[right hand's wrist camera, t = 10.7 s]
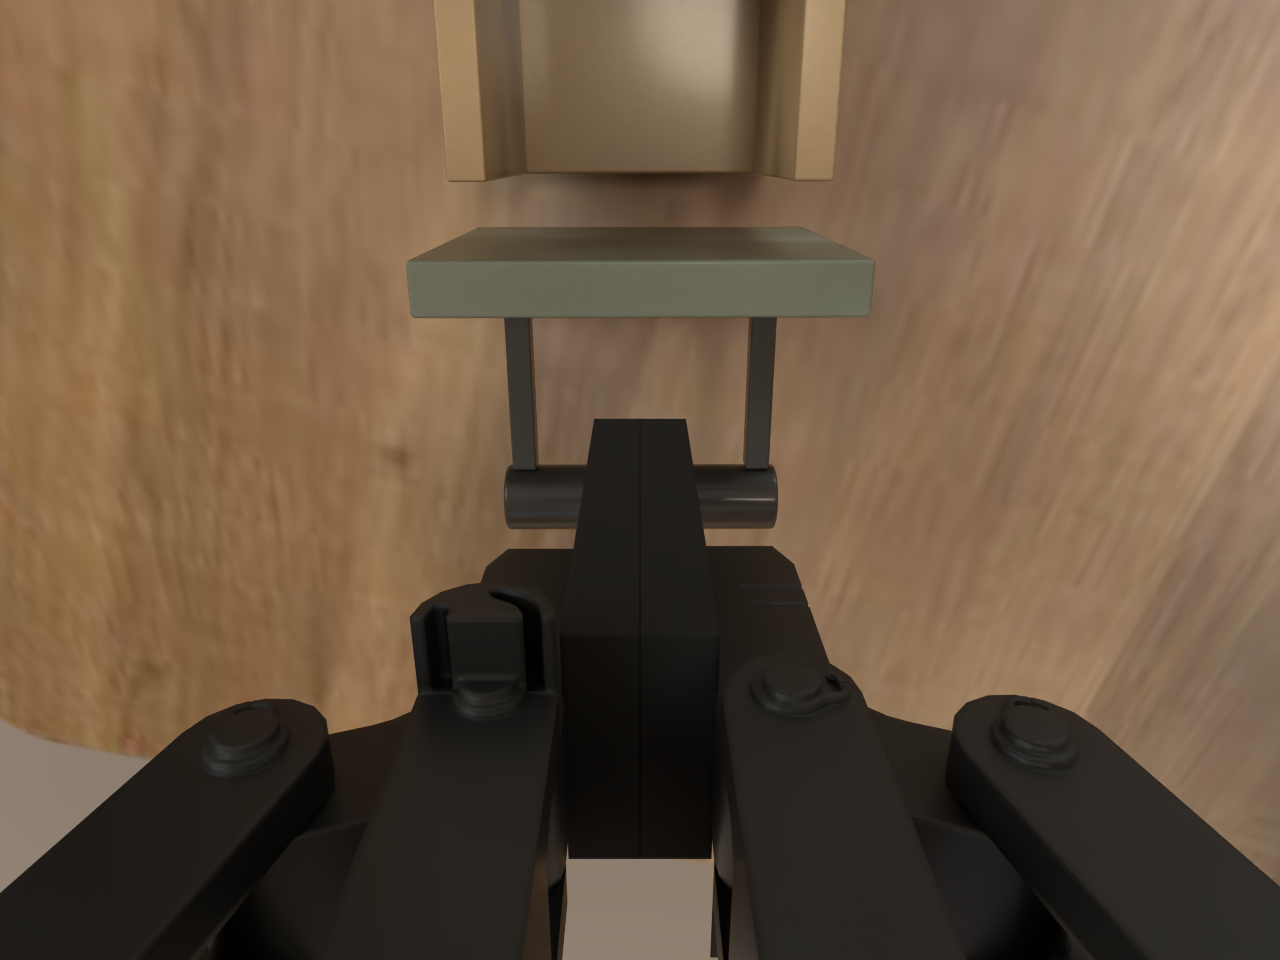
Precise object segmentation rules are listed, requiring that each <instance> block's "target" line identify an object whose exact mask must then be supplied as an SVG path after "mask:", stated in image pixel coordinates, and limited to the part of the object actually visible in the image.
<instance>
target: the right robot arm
mask: <svg viewBox="0 0 1280 960" xmlns="http://www.w3.org/2000/svg"><path fill="white" fill-rule="evenodd" d="M801 586H802V585H801V582H800V580H799V577H798V574H797V571H796V568H795V566H794V564H793V563H792V562H791V561H790V560H788V559H787V558H786V557H785V556H783V555H782V554H781V553H780V552H779V551H777V550H776V549H775V548H774V547H772V546H706V543H705V536H704V530H703V524H702V518H701V511H700V505H699V499H698V493H697V486H696V480H695V474H694V468H693V461H692V455H691V449H690V443H689V436H688V430H687V424H686V419H594V424H593V430H592V436H591V443H590V449H589V455H588V461H587V468H586V474H585V480H584V486H583V493H582V499H581V505H580V511H579V518H578V524H577V530H576V536H575V543H574V549H507V550H506V551H505V552H504V553H503V554H501V555H500V556H499V557H498V558H497V559H495V560H494V561H493V562H492V563H491V564H489V565H488V566H487V567H486V569H485V572H484V575H483V577H482V580H481V583H477V584H467V585H463V586H460V587H457V588H453V589H450V590H446V591H443V592H441V593H439V594H437V595H435V596H433V597H432V598H430V599H428V600H426V601H425V602H423V603H421V604H420V606H419V607H418V608H417V609H416V610H415V612H414V613H413V614H412V615H411V616H410V625H411V633H412V642H413V651H414V659H415V668H416V677H417V686H418V695H417V698H416V701H415V703H414V706H413V708H412V711H411V712H409V713H407V714H404V715H402V716H400V717H398V718H395V719H393V720H390V721H386V722H382V723H379V724H375V725H372V726H367V727H362V728H358V729H353V730H348V731H343V732H339V733H334V734H328V728H327V722H326V719H325V718H324V717H323V716H322V714H321V713H320V712H319V711H318V710H317V709H316V708H315V707H314V706H311V705H308V704H305V703H302V702H299V701H296V700H293V699H262V700H256V701H252V702H245V703H241V704H237V705H234V706H231V707H229V708H227V709H224V710H222V711H219V712H217V713H214V714H212V715H209V716H207V717H205V718H204V719H202V720H201V721H199V722H198V723H196V724H195V725H194V726H192V727H191V728H189V729H188V730H186V731H185V732H183V733H182V734H181V735H180V736H178V737H177V738H176V739H175V740H174V741H173V742H172V743H170V744H169V745H168V746H167V747H166V748H165V749H164V750H162V751H161V752H160V753H159V754H158V755H157V756H156V757H155V758H153V759H152V760H151V761H150V762H149V763H148V764H147V765H145V766H144V767H143V768H142V769H141V770H140V771H139V772H137V773H136V774H135V775H134V776H133V777H132V778H131V779H129V780H128V781H127V782H126V783H125V784H124V785H123V786H122V787H120V788H119V789H118V790H117V791H116V792H115V793H114V794H112V795H111V796H110V797H109V798H108V799H107V800H106V801H104V802H103V803H102V804H101V805H100V806H99V807H98V808H96V809H95V810H94V811H93V812H92V813H91V814H90V815H89V816H87V817H86V818H85V819H84V820H83V821H82V822H80V823H79V824H78V825H77V826H76V827H75V828H74V829H73V830H71V831H70V832H69V833H68V834H67V835H66V836H65V837H63V838H62V839H61V840H60V841H59V842H58V843H57V844H55V845H54V846H53V847H52V848H51V849H50V850H49V851H47V852H46V853H45V854H44V855H43V856H42V857H41V858H40V859H38V860H37V861H36V862H35V863H34V864H33V865H32V866H30V867H29V868H28V869H27V870H26V871H25V872H24V873H22V874H21V875H20V876H19V877H18V878H17V879H16V880H15V881H13V882H12V883H11V884H10V885H9V886H8V887H7V888H5V889H4V890H3V891H2V892H1V893H0V960H562V955H563V944H564V933H565V922H566V911H567V882H566V856H567V846H568V854H569V859H711V854H712V841H713V851H714V883H713V906H712V930H711V954H710V957H718V960H1280V886H1278V885H1277V884H1276V883H1275V882H1274V881H1273V880H1271V879H1270V878H1269V877H1268V876H1267V875H1266V874H1265V873H1263V872H1262V871H1261V870H1260V869H1259V868H1258V867H1257V866H1255V865H1254V864H1253V863H1252V862H1251V861H1250V860H1249V859H1247V858H1246V857H1245V856H1244V855H1243V854H1242V853H1240V852H1239V851H1238V850H1237V849H1236V848H1235V847H1234V846H1232V845H1231V844H1230V843H1229V842H1228V841H1227V840H1226V839H1224V838H1223V837H1222V836H1221V835H1220V834H1219V833H1218V832H1216V831H1215V830H1214V829H1213V828H1212V827H1211V826H1209V825H1208V824H1207V823H1206V822H1205V821H1204V820H1203V819H1201V818H1200V817H1199V816H1198V815H1197V814H1196V813H1195V812H1193V811H1192V810H1191V809H1190V808H1189V807H1188V806H1187V805H1185V804H1184V803H1183V802H1182V801H1181V800H1180V799H1178V798H1177V797H1176V796H1175V795H1174V794H1173V793H1172V792H1170V791H1169V790H1168V789H1167V788H1166V787H1165V786H1164V785H1162V784H1161V783H1160V782H1159V781H1158V780H1157V779H1156V778H1154V777H1153V776H1152V775H1151V774H1150V773H1149V772H1147V771H1146V770H1145V769H1144V768H1143V767H1142V766H1141V765H1139V764H1138V763H1137V762H1136V761H1135V760H1134V759H1133V758H1131V757H1130V756H1129V755H1128V754H1127V753H1126V752H1125V751H1123V750H1122V749H1121V748H1120V747H1119V746H1118V745H1116V744H1115V743H1114V742H1113V741H1112V740H1111V739H1110V738H1108V737H1107V736H1106V735H1105V734H1104V733H1103V732H1102V731H1100V730H1099V729H1098V728H1096V727H1095V726H1093V725H1092V724H1090V723H1089V722H1088V721H1086V720H1085V719H1083V718H1082V717H1080V716H1079V715H1077V714H1076V713H1074V712H1072V711H1069V710H1067V709H1064V708H1062V707H1059V706H1057V705H1054V704H1052V703H1049V702H1047V701H1044V700H1040V699H1036V698H1032V697H1031V698H1028V697H1025V696H1018V695H988V696H985V697H982V698H979V699H976V700H973V701H970V702H967V703H966V704H965V705H964V706H963V707H962V708H961V709H960V710H959V711H958V712H957V713H956V714H955V716H954V722H953V728H952V731H950V730H945V729H940V728H936V727H931V726H926V725H921V724H917V723H912V722H907V721H904V720H900V719H897V718H893V717H890V716H886V715H884V714H882V713H880V712H877V711H875V710H873V709H871V708H868V707H867V704H866V702H865V699H864V697H863V694H862V692H861V691H860V689H859V688H858V686H857V685H856V684H855V682H854V681H853V680H852V678H851V677H850V676H849V675H847V674H846V673H844V672H843V671H841V670H840V669H838V668H837V667H835V666H833V665H832V664H830V663H829V661H828V658H827V655H826V652H825V649H824V647H823V644H822V641H821V638H820V635H819V633H818V630H817V627H816V624H815V621H814V619H813V616H812V613H811V610H810V607H808V602H807V599H806V596H805V593H804V591H803V589H802V588H801Z"/></svg>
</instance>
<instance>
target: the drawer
mask: <svg viewBox="0 0 1280 960" xmlns="http://www.w3.org/2000/svg"><path fill="white" fill-rule="evenodd" d="M433 2H434V15H435V28H436V41H437V54H438V67H439V80H440V93H441V106H442V119H443V132H444V145H445V158H446V171H447V180H448V181H449V182H485V181H490V180H496V179H501V178H506V177H511V176H516V175H521V174H611V173H757V174H762V175H767V176H773V177H778V178H783V179H789V180H794V181H832V180H833V178H834V167H835V153H836V140H837V126H838V112H839V99H840V85H841V72H842V58H843V45H844V31H845V17H846V4H847V0H433ZM406 269H407V279H408V290H409V300H410V310H411V316H412V317H413V318H504V322H505V339H506V356H507V374H508V391H509V408H510V425H511V443H512V460H513V465H510V466H508V468H507V471H506V475H505V483H504V512H505V519H506V523H507V526H508V528H510V529H577V524H578V518H579V511H580V505H581V499H582V493H583V486H584V480H585V474H586V468H587V465H538V462H539V457H538V436H537V414H536V393H535V371H534V350H533V328H532V318H713V317H749V335H748V358H747V381H746V405H745V428H744V451H743V462H744V464H693V468H694V474H695V480H696V486H697V493H698V499H699V505H700V511H701V518H702V524H703V529H771V528H773V527H774V525H775V523H776V518H777V510H778V485H777V476H776V471H775V468H774V466H773V465H771V464H769V451H770V433H771V414H772V396H773V378H774V359H775V341H776V322H777V317H868V316H870V313H871V302H872V292H873V281H874V270H875V261H874V260H872V259H870V258H868V257H866V256H864V255H862V254H859V253H857V252H855V251H853V250H851V249H849V248H846V247H844V246H842V245H840V244H838V243H836V242H834V241H831V240H829V239H827V238H825V237H823V236H821V235H818V234H816V233H814V232H812V231H810V230H808V229H805V228H803V227H490V228H477V229H475V230H472V231H470V232H468V233H466V234H464V235H462V236H460V237H458V238H455V239H453V240H451V241H449V242H447V243H445V244H443V245H441V246H438V247H436V248H434V249H432V250H430V251H428V252H426V253H424V254H421V255H419V256H417V257H415V258H413V259H411V260H409V261H407V263H406Z"/></svg>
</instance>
